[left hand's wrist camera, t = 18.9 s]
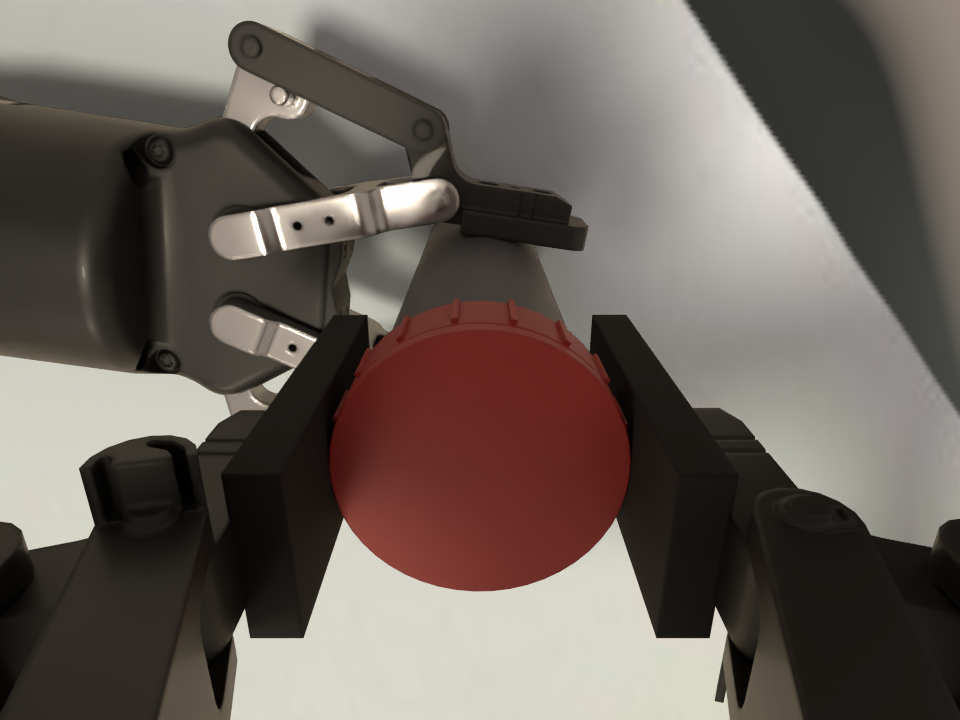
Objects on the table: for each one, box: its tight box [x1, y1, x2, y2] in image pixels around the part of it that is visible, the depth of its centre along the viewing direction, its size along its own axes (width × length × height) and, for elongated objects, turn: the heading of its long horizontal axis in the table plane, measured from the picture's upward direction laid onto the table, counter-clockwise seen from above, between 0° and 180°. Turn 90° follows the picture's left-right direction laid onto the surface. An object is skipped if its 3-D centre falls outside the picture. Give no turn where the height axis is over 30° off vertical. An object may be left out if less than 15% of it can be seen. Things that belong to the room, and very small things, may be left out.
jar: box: [393, 222, 567, 329], centre depth 18 cm, size 4×4×16 cm
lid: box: [329, 298, 631, 591], centre depth 11 cm, size 5×5×2 cm
